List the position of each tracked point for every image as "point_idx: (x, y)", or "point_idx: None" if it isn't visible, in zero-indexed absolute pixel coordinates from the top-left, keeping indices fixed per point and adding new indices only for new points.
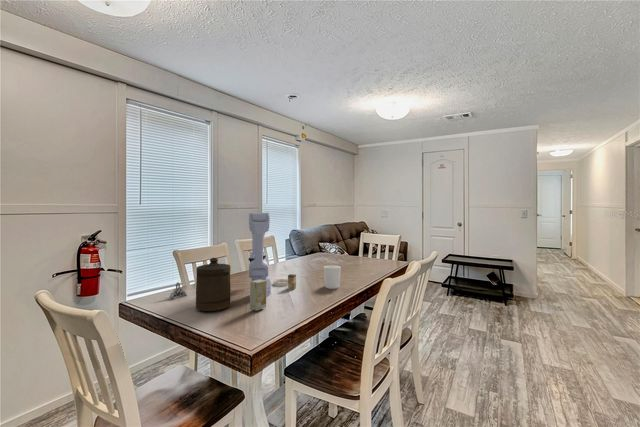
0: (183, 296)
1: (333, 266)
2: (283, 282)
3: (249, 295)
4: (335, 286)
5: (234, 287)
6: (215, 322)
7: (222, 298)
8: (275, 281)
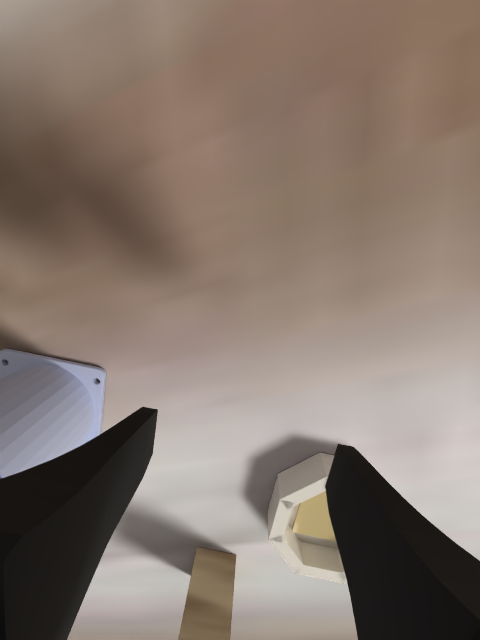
0: None
1: None
2: (275, 547)
3: (12, 357)
4: None
5: (240, 151)
6: None
7: None
8: (308, 493)
